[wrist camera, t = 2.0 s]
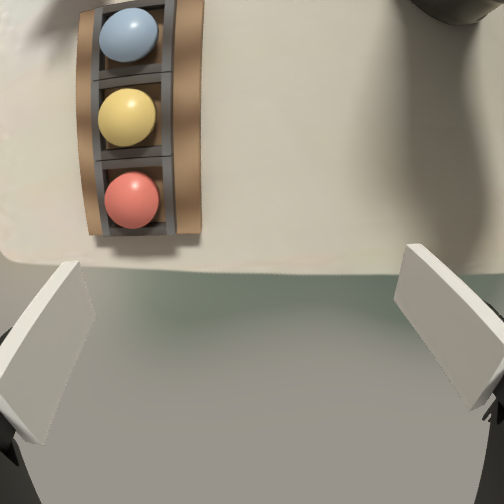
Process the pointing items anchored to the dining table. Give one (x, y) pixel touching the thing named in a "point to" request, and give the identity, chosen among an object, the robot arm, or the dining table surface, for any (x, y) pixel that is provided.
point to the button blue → (129, 35)
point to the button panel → (168, 117)
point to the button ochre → (127, 117)
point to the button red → (132, 199)
